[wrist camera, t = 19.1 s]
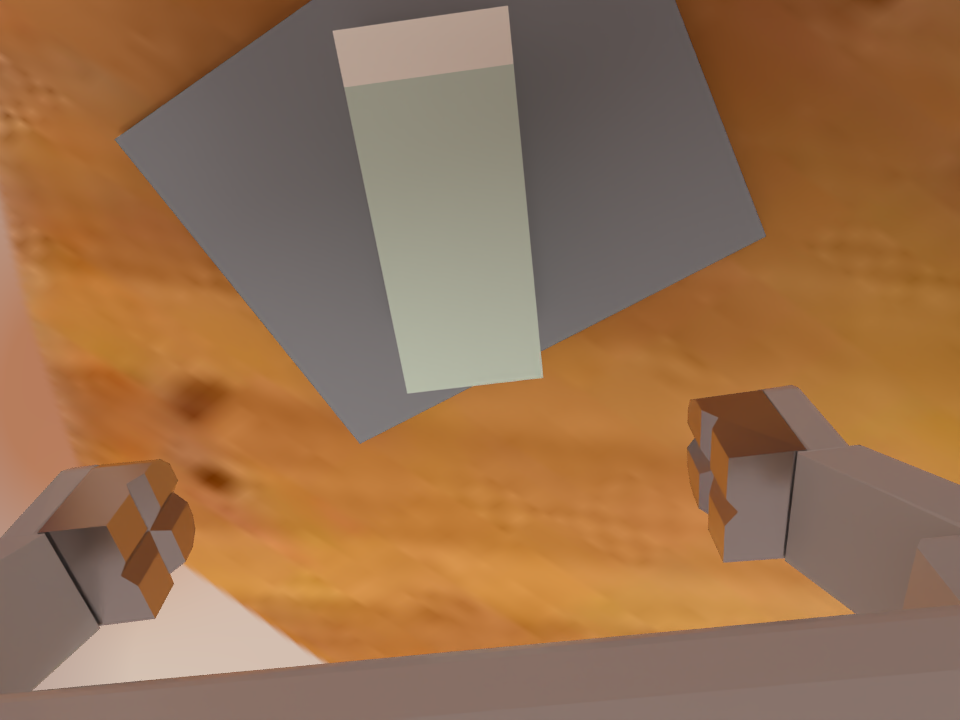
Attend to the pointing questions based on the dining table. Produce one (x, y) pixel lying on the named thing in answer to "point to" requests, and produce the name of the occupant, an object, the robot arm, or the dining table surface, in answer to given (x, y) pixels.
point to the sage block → (446, 193)
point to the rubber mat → (546, 163)
